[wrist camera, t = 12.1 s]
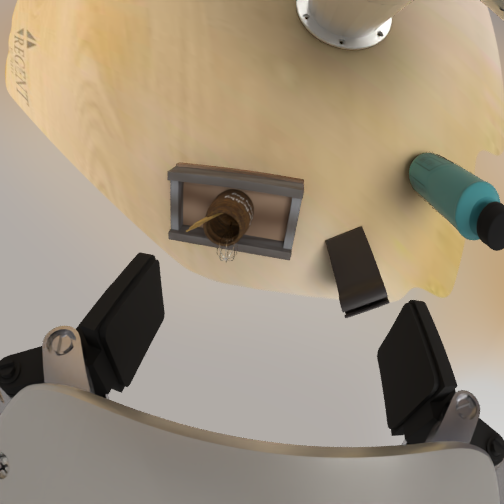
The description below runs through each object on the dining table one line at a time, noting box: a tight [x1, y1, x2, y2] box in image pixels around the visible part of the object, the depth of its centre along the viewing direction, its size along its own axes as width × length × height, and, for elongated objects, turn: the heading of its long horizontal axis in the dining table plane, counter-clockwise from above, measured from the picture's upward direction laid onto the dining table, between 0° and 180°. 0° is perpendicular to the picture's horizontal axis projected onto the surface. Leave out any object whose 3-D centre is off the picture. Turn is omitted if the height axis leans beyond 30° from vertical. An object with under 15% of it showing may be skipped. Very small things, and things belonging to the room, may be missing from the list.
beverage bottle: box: [409, 152, 504, 251], centre depth 25 cm, size 6×7×20 cm
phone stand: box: [326, 227, 389, 318], centre depth 37 cm, size 9×6×12 cm, turn 28°
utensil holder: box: [186, 189, 254, 262], centre depth 35 cm, size 6×6×12 cm
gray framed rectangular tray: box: [168, 163, 304, 260], centre depth 39 cm, size 11×18×4 cm, turn 84°
